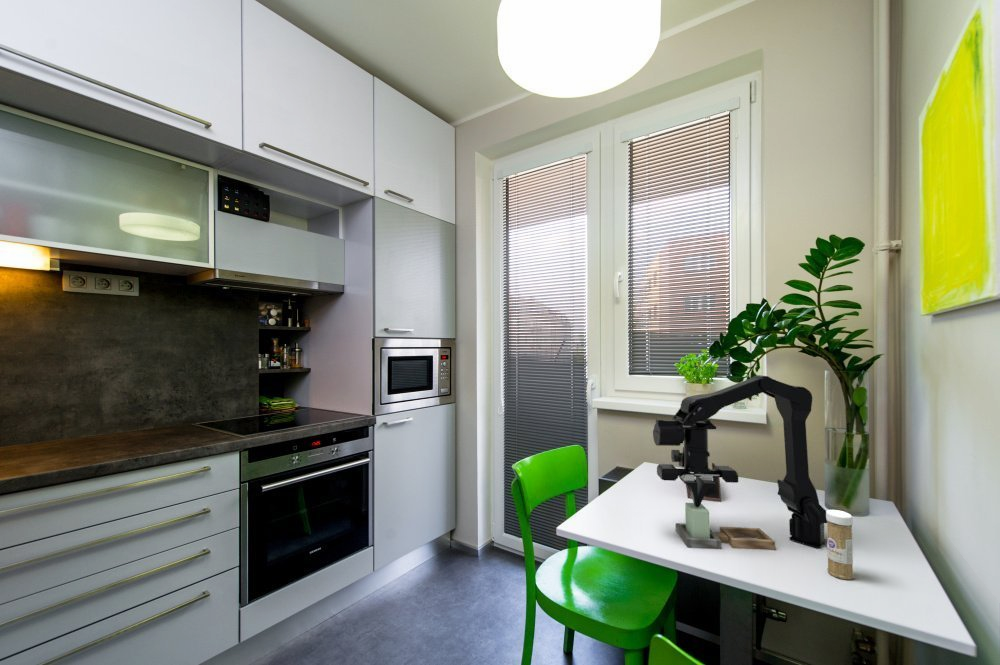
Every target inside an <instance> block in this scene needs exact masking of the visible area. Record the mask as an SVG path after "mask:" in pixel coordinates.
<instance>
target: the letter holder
mask: <svg viewBox="0 0 1000 665" xmlns="http://www.w3.org/2000/svg"><path fill="white" fill-rule="evenodd" d="M715 466H716V464H715V463H714V462H712V463H711V469H713V470H714V467H715ZM689 473H691V472H689ZM720 478H721V477H713V479H712V481H713V482H714V483H715V485H711V486H710V488H709V489H708V491H707V492H706V494H705V496H704V498H703V500H702V501H707V502H708V501H709V502H717V503H718V502H719V503H721V502H722V497H721V496H722V495H721V494H722V493H721V479H720ZM694 480H695V481H696V478H694ZM685 488H686V493H687V494H686V496H687V499H690V500H691V499H692V497H691V494H690V491H689V489H688V487H687V485H686V484H685ZM692 500H693V499H692Z"/></svg>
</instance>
